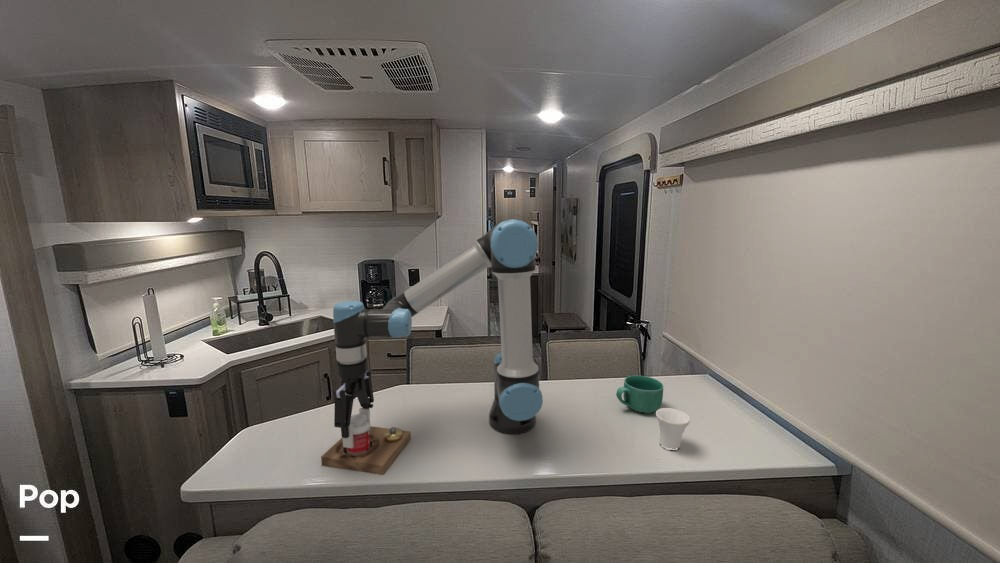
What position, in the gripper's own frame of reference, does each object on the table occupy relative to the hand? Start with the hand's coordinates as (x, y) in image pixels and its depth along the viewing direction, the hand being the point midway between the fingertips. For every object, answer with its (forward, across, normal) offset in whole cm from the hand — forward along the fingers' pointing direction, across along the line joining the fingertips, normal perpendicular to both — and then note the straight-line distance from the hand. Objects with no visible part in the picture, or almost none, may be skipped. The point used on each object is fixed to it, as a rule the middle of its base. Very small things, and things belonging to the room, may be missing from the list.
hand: (357, 438), depth 101 cm
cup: (+5, -22, +86) cm, 89 cm away
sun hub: (+3, -6, +8) cm, 10 cm away
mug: (+5, -43, +80) cm, 91 cm away
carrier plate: (+5, -2, +2) cm, 6 cm away
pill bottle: (+5, 0, 0) cm, 5 cm away
